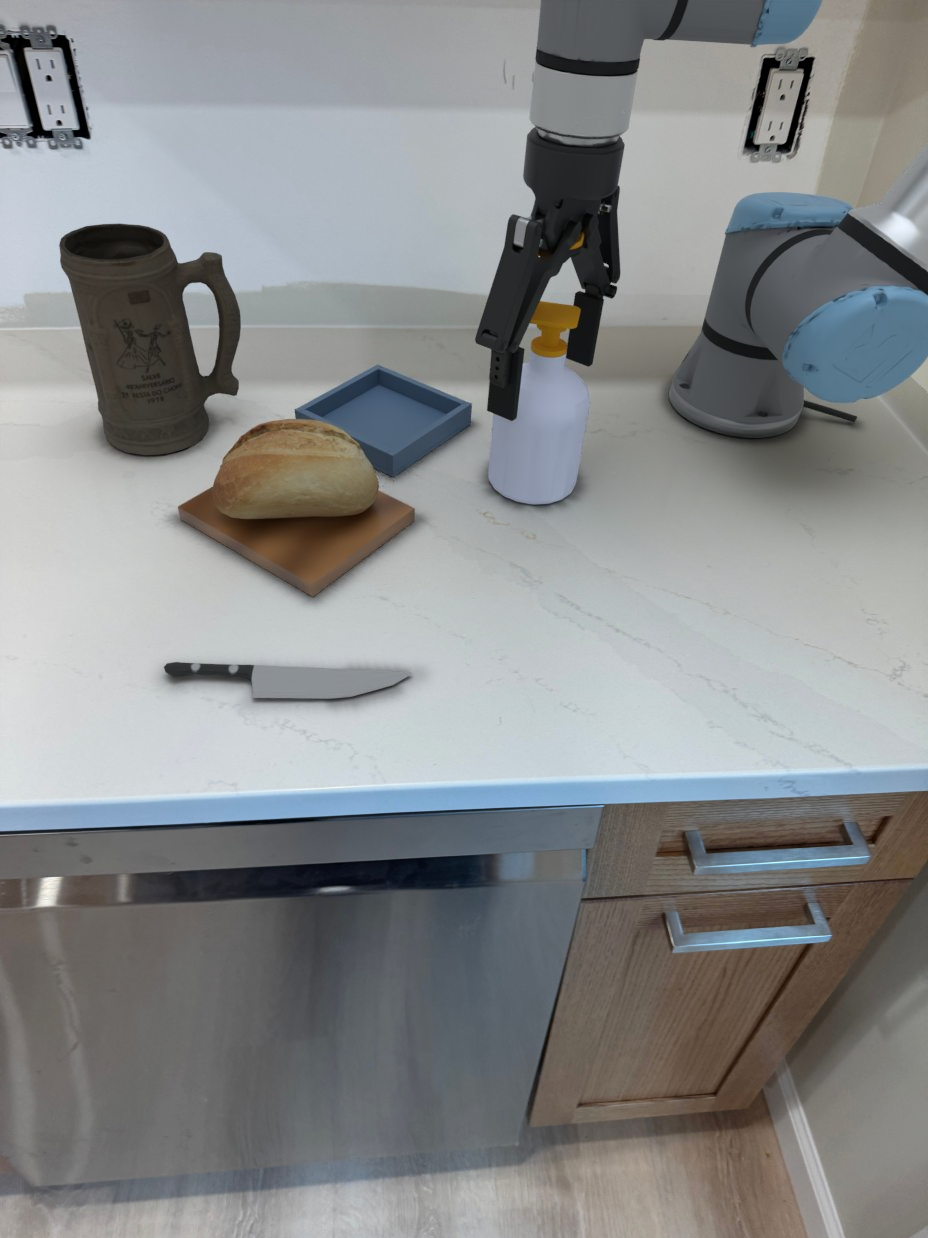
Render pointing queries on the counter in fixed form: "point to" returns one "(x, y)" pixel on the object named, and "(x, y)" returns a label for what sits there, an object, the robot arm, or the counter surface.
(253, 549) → the bread board
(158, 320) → the beer stein
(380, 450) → the soap tray
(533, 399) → the soap bottle
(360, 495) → the bread roll
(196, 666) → the chef's knife
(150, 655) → the counter surface
